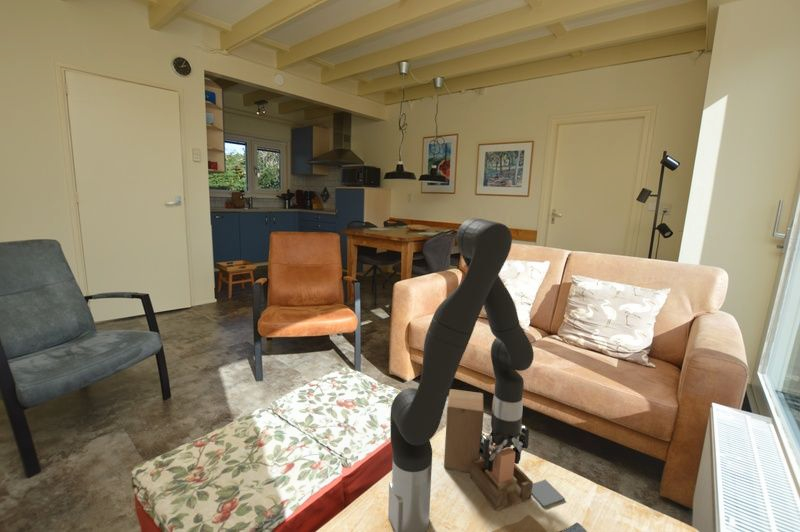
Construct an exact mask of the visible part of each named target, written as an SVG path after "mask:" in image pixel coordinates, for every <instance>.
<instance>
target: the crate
mask: <svg viewBox="0 0 800 532" xmlns="http://www.w3.org/2000/svg"><path fill="white" fill-rule="evenodd" d="M484 464H485V460H484V459H483V458H480V460H477V461H473V462H471V473H470V479H471V481H472V482H473V483H474V485H475V486H476V487H477V488H478V490H479V491H480V492H481V493H482V494H483V496H484V497H485V498H486V500H487V501H488V503H490V505H491V506H492V507H493V509H494V510H495V511H496V512H497V511H500V510H503V509H506V508H509V507H511V506H514V505H517V504H520V503H523V502H526V501H529V500H531V499H532V495H531V494H532V485H533V483H534V482H533V481H532V480H531V479H530V478H529V477H528V476H527V475H526V474H525V472H523V470H521V468H519V467H518V466H517V464H515V463H514V474H513V479H511V480H507V481H504V482H501V483H498V481H497V480H496V479H495V478H494V477H493V476H492V474H491V473H490V472H489V471H488V470H487V469H486V468H485V466H484Z"/></svg>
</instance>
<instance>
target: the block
mask: <svg viewBox="0 0 800 532" xmlns="http://www.w3.org/2000/svg"><path fill="white" fill-rule="evenodd" d="M493 446H494V447H495V448H497V446H496V445H495V444H493ZM491 453H492V450H491V451H490V454H491ZM515 453H516V452H515V451H514V450H513V447H512V446H511V447H506V448H504V449H501V451H500V452H499V454H496V455H495V457H494V458H493V471H492V472H490V473H491V474H492V476H493V477H494V478H495V479H496V480H497V481H498V483H501V482H504V481H507V480H511V479H513V474H514V463H515Z"/></svg>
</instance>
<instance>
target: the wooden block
mask: <svg viewBox="0 0 800 532" xmlns="http://www.w3.org/2000/svg"><path fill="white" fill-rule="evenodd" d="M484 407H485V406H484V393H482V392H475V391H468V390H461V389H453V388H450V390H449V393H448V397H447V404H446V422H445V424H446V425H445V441H444V455H443V456H444V458H443V467H444V469H447V470H452V471H453V470H454V471H458V472H465V473H469V474H471V462H473V461H477V460H480V459H481V456H480V455H479V453H478V452H479V444H480V436H481V434H483V425H484V412H485V411H484Z"/></svg>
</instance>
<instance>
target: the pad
mask: <svg viewBox="0 0 800 532" xmlns="http://www.w3.org/2000/svg"><path fill="white" fill-rule="evenodd" d="M531 497H532V498H534V500H535V501H536V502H537V503H538V504H539V505H540V506H541V507H542V508H543V509H545V508H547V507H550V506H553V505H555V504H558V503H561V502H563V501H565V499H566V498H565V497H564V495H562V494H561V493H560V492H559V491H558V490H557V489H556V488H555V487H554V486H553V485H552V484H550V482H549V481H547V479H543V480H542V479H541V480H540V481H537V482H533V485H532V494H531Z"/></svg>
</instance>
